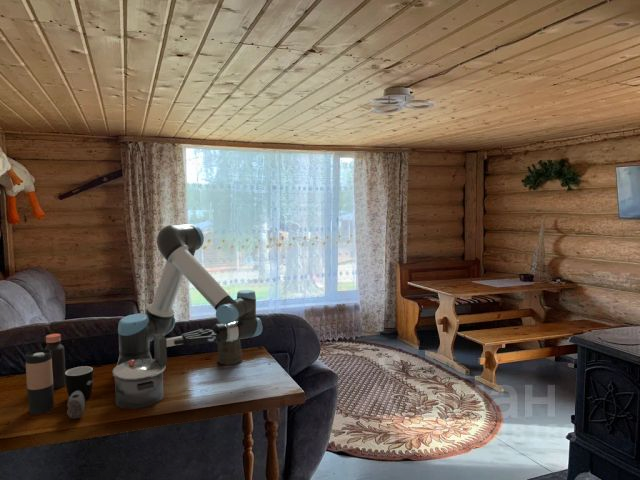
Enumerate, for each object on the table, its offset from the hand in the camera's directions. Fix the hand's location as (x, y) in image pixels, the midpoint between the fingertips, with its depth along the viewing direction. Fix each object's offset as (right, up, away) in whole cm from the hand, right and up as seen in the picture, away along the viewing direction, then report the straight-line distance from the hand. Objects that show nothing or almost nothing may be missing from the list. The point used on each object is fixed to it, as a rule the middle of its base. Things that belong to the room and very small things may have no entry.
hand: (164, 343), depth 166 cm
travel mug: (-38, -20, -11) cm, 45 cm away
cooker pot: (-8, -19, -3) cm, 21 cm away
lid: (-8, -9, -4) cm, 12 cm away
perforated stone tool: (-25, -21, -13) cm, 35 cm away
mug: (-30, -19, -1) cm, 36 cm away
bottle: (-45, -19, +8) cm, 49 cm away
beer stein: (+17, -16, +37) cm, 44 cm away
